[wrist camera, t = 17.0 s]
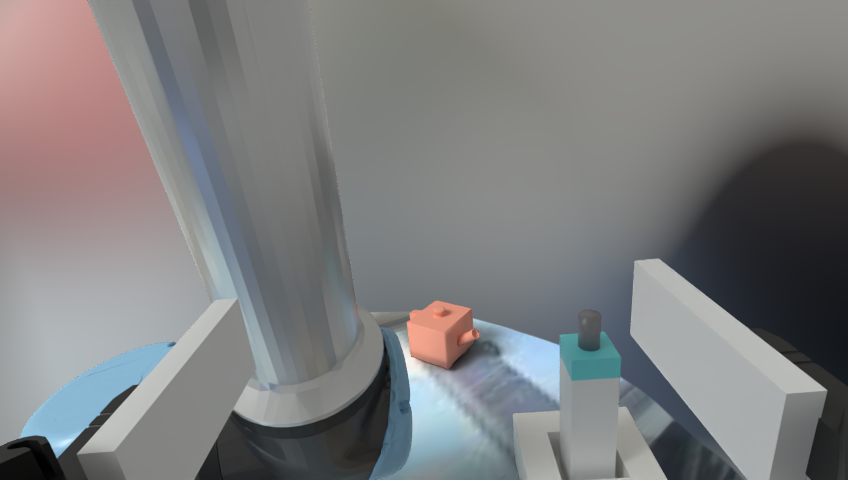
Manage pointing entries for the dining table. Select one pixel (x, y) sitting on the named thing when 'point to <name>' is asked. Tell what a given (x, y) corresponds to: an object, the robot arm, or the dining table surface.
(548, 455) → the socket block
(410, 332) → the pink cube teapot
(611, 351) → the plug
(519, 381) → the dining table surface
